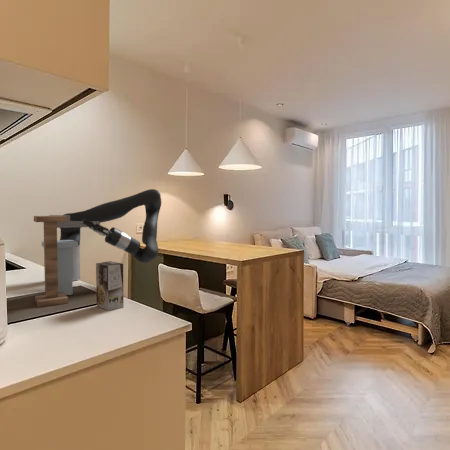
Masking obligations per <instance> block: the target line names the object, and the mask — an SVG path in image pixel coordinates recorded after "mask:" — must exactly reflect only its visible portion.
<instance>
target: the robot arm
mask: <svg viewBox="0 0 450 450" xmlns="http://www.w3.org/2000/svg"><path fill="white" fill-rule="evenodd" d="M141 206H144V208H145V220H144V222H143V223H144V224H143V225H142V226H143V227H142V233H141V234H142V235H141V242H142V243H143V245H145V247H143V248H142V247H141V242H140V240H137V239H136V238H134V237H131V236H130V235H129V234H127V233H125V232H124V231H122V230H120V229H118V228H117V227H111V228H110V229H109V228H108V227H106V226H104V225H102V224H101V223H106V222H110V221H114V220H117V219H121V218H123V217H124V216H126V215H127V214H128V213H130V212H131V211H132V210H133V209H135V208H138V207H141ZM161 207H162V196H161V193H160V191H159V190H157V189H154V188H152V189H146V190H143V191H141V192H138V193H136V194H133V195H130V196H127V197H123V198H120V199H116V200H111V201H108V202H104V203H101V204H99V205H96V206H94V207H91V208H88V209H85V210H82V211H77V212H69V213H64V214H63V215H69V216H70V221H84V222H83V224H85V225H87V226H89V227H88V229H89V230H92V231H93V232H95V233H96V234H98V235H99V236H101V237H105V238H104V241H105V242H104V243H107V244H109V245H111V246H113V247H115V248H117V249H119V250H122V251H124V252H126V253H128V254H130V255H131V256H132V257H133V258H134V259H136V260H137V261H139V262H141V263H142V264H143V263H144V264H147V263H150V262H152V261H154V260H155V259H156V258H158V255H159V245H158V241H157V237H158V219H159V214H160V211H161ZM91 221H100V225H98V224H96V223H93V222H91ZM81 228H83V227H70V228H59V229H60V237H59V238H60V239H59V240H74V241H76V242H78V247H72V282H74V281H79V280H81Z"/></svg>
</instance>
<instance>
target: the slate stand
mask: <svg viewBox="0 0 450 450" xmlns="http://www.w3.org/2000/svg"><path fill="white" fill-rule="evenodd" d="M41 247H42V248H44V240H41ZM72 247H78V242H76V241H74V240H60V239H59V240H58V239H57V260H58V293H64V294H65V295H66V296H70V295H73V290H74V289H73V288H74V287H73V286H74V285H73V281H72Z"/></svg>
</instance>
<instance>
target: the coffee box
mask: <svg viewBox="0 0 450 450" xmlns="http://www.w3.org/2000/svg"><path fill="white" fill-rule="evenodd" d="M95 278H96V279H95V281H96V282H95V285H96V286H95V287H96V306H97V307H99V308H102V309H105V310H107V311H111V310H117V309H120V308H122V309H123V308H124V305H125V304H124V263H120V262H117V261H112V260H111V261H103V262H96V263H95Z"/></svg>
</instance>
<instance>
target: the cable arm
mask: <svg viewBox="0 0 450 450" xmlns="http://www.w3.org/2000/svg"><path fill="white" fill-rule="evenodd" d="M48 216H67V222H57V229H60V228H70V227H82V228H89V226H87V225H85V224H83V222H84V221H70V216H69V215H64V214H49V215H48ZM91 222H93V223H96V224H98V225H101V223H100V221H91Z"/></svg>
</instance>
